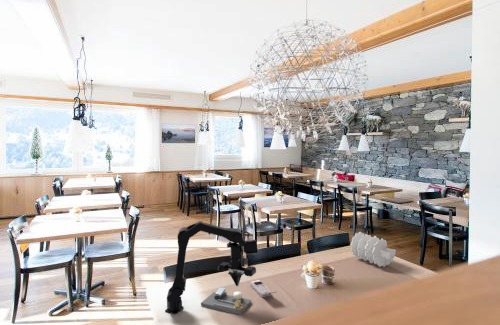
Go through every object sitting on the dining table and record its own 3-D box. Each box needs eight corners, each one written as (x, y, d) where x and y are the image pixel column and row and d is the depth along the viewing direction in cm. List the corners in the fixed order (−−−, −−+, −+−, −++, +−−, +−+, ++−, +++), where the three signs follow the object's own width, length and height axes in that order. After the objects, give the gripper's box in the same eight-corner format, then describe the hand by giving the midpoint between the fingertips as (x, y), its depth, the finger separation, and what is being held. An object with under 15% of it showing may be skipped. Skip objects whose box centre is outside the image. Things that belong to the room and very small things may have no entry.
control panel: (201, 305, 152) (200, 300, 152) (213, 294, 163) (213, 289, 162) (240, 315, 142) (240, 308, 142) (251, 302, 153) (251, 297, 153)
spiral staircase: (382, 275, 190) (351, 261, 212) (399, 259, 197) (368, 246, 219) (374, 252, 185) (344, 239, 207) (392, 236, 191) (361, 225, 213)
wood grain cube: (234, 308, 146) (234, 302, 145) (237, 305, 148) (237, 299, 148) (238, 309, 145) (238, 302, 145) (240, 306, 147) (240, 300, 147)
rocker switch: (215, 295, 156) (215, 293, 155) (220, 288, 160) (220, 287, 160) (220, 296, 154) (220, 294, 154) (225, 289, 159) (225, 288, 159)
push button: (231, 298, 152) (231, 294, 152) (235, 294, 156) (235, 290, 156) (239, 300, 150) (239, 296, 150) (243, 296, 154) (243, 292, 154)
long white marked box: (267, 293, 151) (248, 274, 174) (267, 305, 151) (248, 284, 174) (278, 291, 153) (258, 272, 176) (278, 302, 153) (258, 282, 177)
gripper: (260, 252, 155) (260, 282, 156) (227, 247, 163) (228, 276, 164) (251, 259, 145) (251, 291, 146) (217, 254, 153) (217, 285, 154)
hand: (237, 285), depth 153 cm, fingers closed
